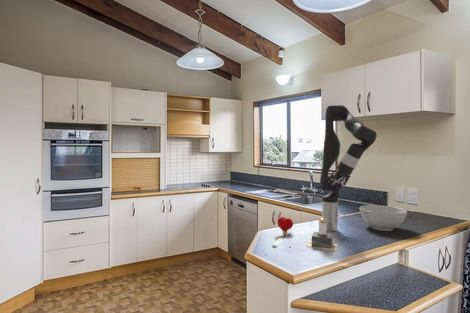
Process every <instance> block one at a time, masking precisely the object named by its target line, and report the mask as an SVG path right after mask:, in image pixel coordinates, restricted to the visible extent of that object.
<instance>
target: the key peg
mask: <svg viewBox="0 0 470 313" xmlns="http://www.w3.org/2000/svg"><path fill="white" fill-rule="evenodd" d="M318 232H319V236H326V233H327V231H326V219H325V218H322V217H320V218H318Z"/></svg>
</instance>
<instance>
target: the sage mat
mask: <svg viewBox="0 0 470 313" xmlns="http://www.w3.org/2000/svg"><path fill="white" fill-rule="evenodd" d="M284 239H285V238H284V237H279V238H277V240H276V241H274V243H273V244H272V248H277V247H278V246H279V245H280V244H281V242H282V241H283V240H284Z"/></svg>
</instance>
